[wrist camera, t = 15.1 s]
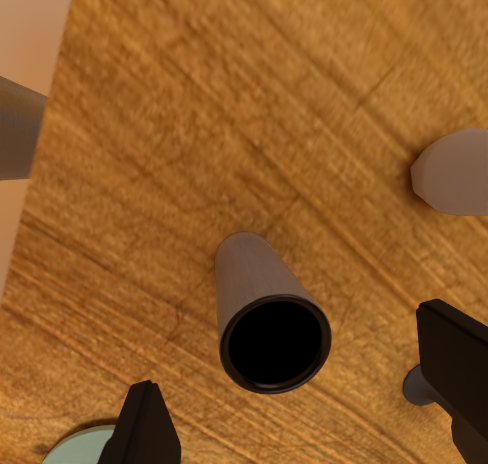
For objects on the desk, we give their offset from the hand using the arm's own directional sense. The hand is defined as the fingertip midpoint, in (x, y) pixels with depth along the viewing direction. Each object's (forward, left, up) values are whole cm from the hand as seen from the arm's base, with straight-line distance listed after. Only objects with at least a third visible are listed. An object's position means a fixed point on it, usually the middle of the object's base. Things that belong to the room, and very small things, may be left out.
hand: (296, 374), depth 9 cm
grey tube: (0, 0, -12) cm, 12 cm away
